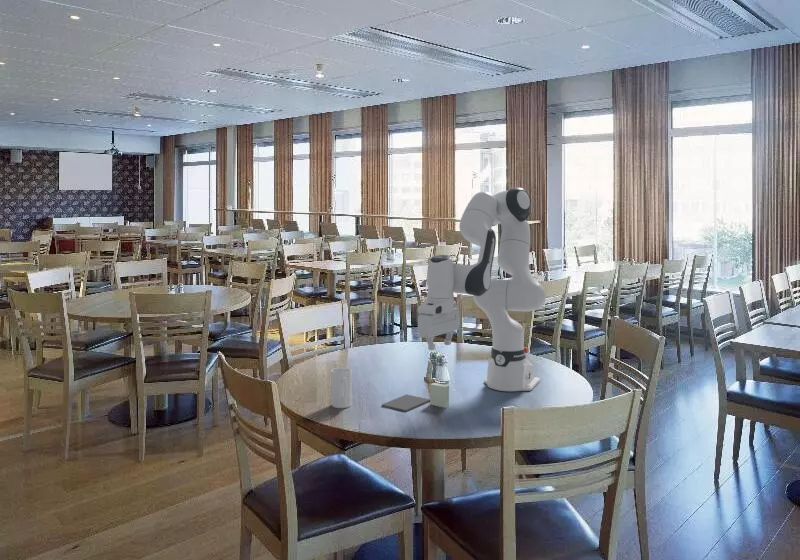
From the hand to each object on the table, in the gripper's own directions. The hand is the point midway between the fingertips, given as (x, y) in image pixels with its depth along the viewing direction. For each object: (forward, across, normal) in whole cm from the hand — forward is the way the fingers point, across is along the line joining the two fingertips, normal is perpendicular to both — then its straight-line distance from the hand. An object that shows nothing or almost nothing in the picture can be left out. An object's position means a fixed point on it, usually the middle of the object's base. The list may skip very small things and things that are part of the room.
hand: (439, 347), depth 226 cm
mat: (+20, +5, -10) cm, 23 cm away
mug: (+20, +20, -25) cm, 38 cm away
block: (+20, 0, 0) cm, 20 cm away
